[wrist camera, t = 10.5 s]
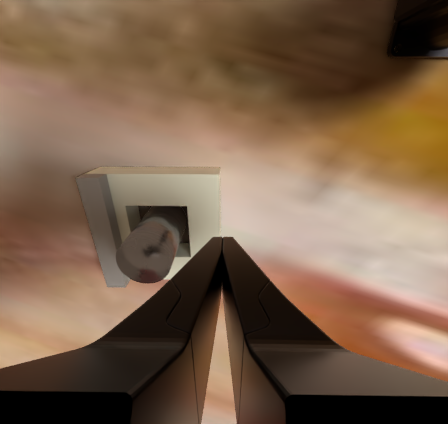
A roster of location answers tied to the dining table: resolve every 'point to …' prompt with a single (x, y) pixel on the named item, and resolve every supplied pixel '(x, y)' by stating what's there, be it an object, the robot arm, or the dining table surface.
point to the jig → (148, 196)
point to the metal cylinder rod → (152, 244)
